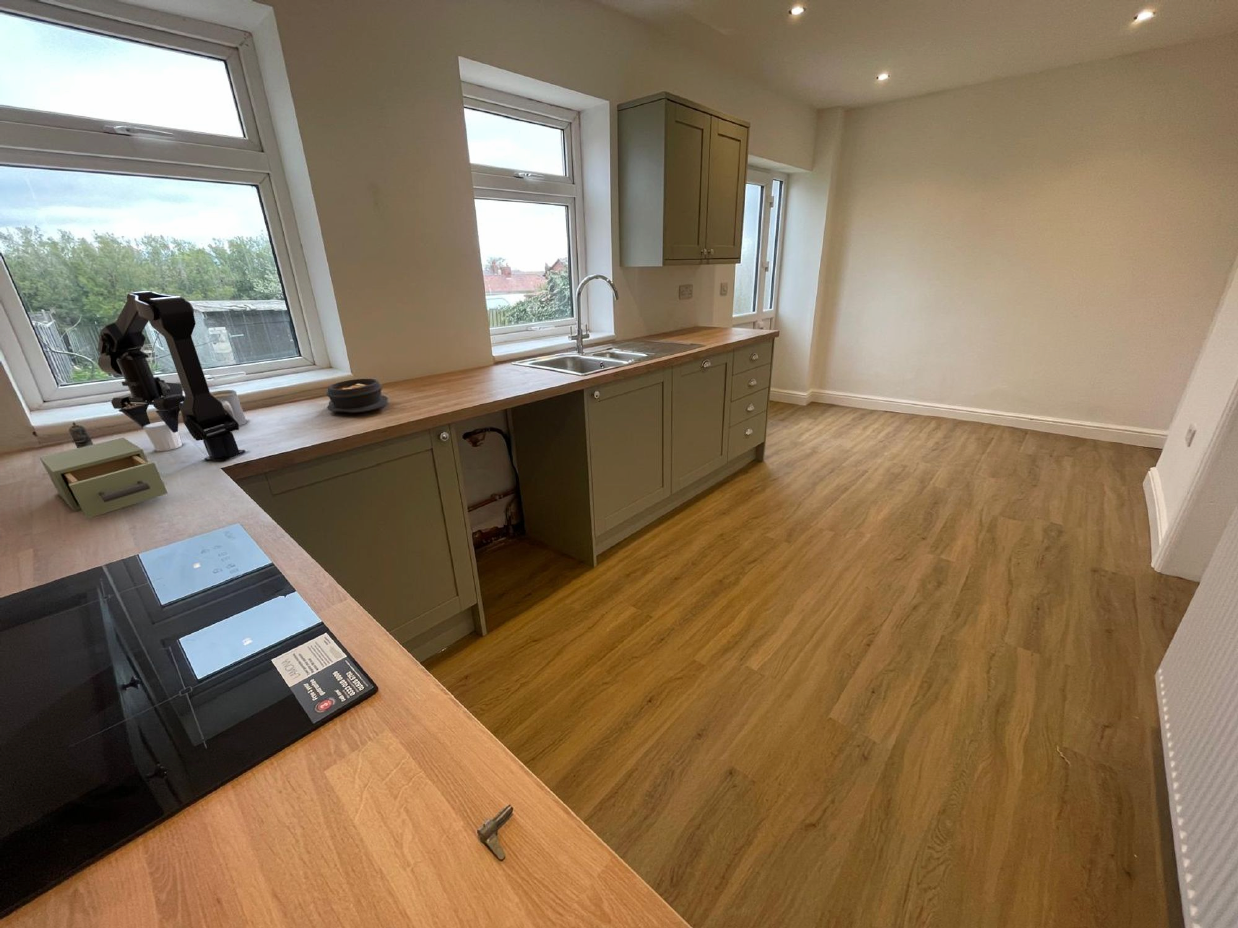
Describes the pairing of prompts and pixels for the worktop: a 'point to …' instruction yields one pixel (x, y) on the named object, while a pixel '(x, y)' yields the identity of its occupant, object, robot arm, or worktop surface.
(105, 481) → the drawer
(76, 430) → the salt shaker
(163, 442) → the white cup
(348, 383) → the casserole
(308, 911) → the worktop surface
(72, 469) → the cabinet
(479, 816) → the worktop surface
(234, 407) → the coffee mug
